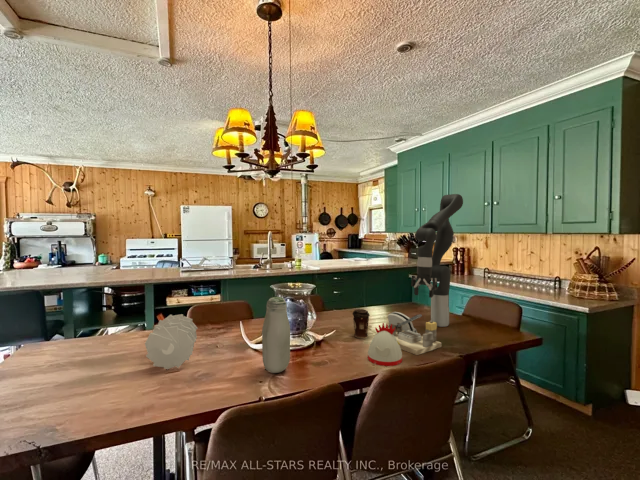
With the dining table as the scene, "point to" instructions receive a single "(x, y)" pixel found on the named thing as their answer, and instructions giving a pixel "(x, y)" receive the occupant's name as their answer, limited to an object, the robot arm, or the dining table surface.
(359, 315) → the coffee cup
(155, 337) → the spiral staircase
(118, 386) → the dining table surface
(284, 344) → the glass bottle
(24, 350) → the dining table surface
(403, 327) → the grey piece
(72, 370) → the dining table surface
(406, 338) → the cream board with rail
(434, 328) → the block
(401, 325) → the strap
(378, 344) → the kitchen timer
